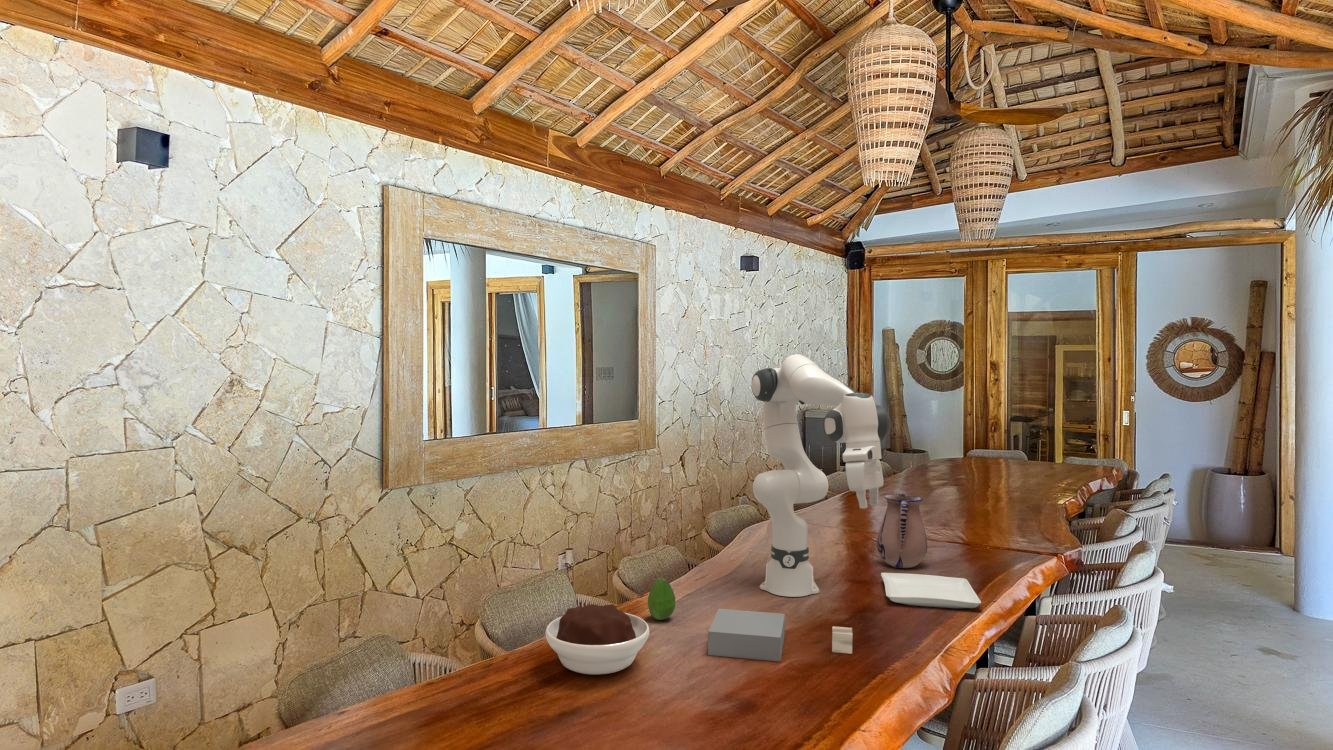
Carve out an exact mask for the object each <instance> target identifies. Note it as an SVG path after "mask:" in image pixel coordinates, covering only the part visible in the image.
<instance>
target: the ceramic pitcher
mask: <svg viewBox="0 0 1333 750" xmlns="http://www.w3.org/2000/svg"><path fill="white" fill-rule="evenodd" d="M884 498H885V499H886V502H887V503H886V504H887V506H886V511H885V513H884V516H883V519H882V521H881V525H880V527H879V530H878V533H877V536H876V549H877V552H878V553H879V555H880V558H881V559H882V561H883V562H884V563H886V564H887V565H888V566H891V567H893V568H897V569H898V568H899V569H911V568H914V567H916V566H918V565H920V563H922V561H923V560H924V559H925V557H926V555H927V552H928V537H927V534H926V529H925V525H924V523H923V522H924V521H923V518H922V514H921V511H920V505H921V502H922V501H923V500H924V499H923V498H922V497H920V496H916V495H907V494H905V493H898V494H885V495H884Z"/></svg>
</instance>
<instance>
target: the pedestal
mask: <svg viewBox="0 0 1333 750" xmlns="http://www.w3.org/2000/svg"><path fill="white" fill-rule="evenodd" d="M785 628H786V613H778V612H777V613H776V612H765V611H764V612H763V611H752V610H739V609H730V608H729V609H726V608H718V609H717V611H716V614H715V616H714V618H713V620H712V622H711V625H710V626H709V629H708V632H707V633H708V634H707V637H708V639H707V641H708V642H707V649H708V650H707V655H708V656H716V657H726V658H727V657H728V658H737V659H738V658H739V659H750V660H760V661H769V662H771V661H772V662H781V660H782V659H781V658H782V655H783V647H784V642H785V637H786V635H785V634H786V633H785V631H786V629H785Z"/></svg>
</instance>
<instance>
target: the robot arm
mask: <svg viewBox="0 0 1333 750" xmlns="http://www.w3.org/2000/svg"><path fill="white" fill-rule="evenodd" d="M751 391H752V395H753V396H754V397H755V399H756V400H757V401H760V402H763V405H762V407H763V409H762V411H763V412H762V417H763V418H762V420H763V428H764V434H765V442H766V447H767V452H768V454H769V455H770V456H771V457H772V458H774V459H775V460H778V461H779V462H780V463H781V464H782V466H783V467H784V469H771V470H768V471H764V472H761V473H758V474H757V475H756V476H755V478H754V480H753V483H752V492H753V496H754V497H755V499H756V500H757V501H758V503H760V504H761V505H763V507H764V508H765V509H766V511H767V512H768V515H769V517H770V520H771V525H772V526H771V527H772V545H771V547H770V557H771V558H770V560H769V561H768V562H767V563H766V564H765V565H766V566H765V580H764V581H763V582H761V584H759V589H760V590H763V591H766V592H768V593H771V594H773V595H776V596H780V597H781V596H782V597H790V598H792V597H793V598H797V597H806V596H808V595H809V596H810V595H813V594H819V593H820V589H819V587H818V585H817V583H816V582H815V580H814V579H815V577H814V566H812V563H811V562H810V561H809V558H810V549H809V547H808V540H809V539H808V538H809V533H808V531H809V530H808V529H809V526H808V523H807V522H806V520H805V519H804V518H803V517H802V516H800V515H799V514H796V513H795V511H794V510H795V509H794V504H795V505H796V504H808V503H813V502H817V501H820V500H823V499H824V498H825V497H826V496H827V494H828V491H829V481H828V477H827V475H826V474H825V473H824V472H823V471H822V470H821V469H819V468H818V467H817V466H815V464H813V463H812V461H811V460H810V459H809V457H808V456H807V453H806V452H805V449H804V446H803V442H802V438H801V434H800V433H801V432H800V427H799V421H798V418H797V417H798V416H797V413H796V406H797V404H798V403H799V404H801V405H805V404H807V405H810V406H825V407H826V406H828V407H835V408H833V409H830V410H829V411H828V412H827V413H826V415H825V416H824V418H823V431H824V434H825V437H826V438H827V439H829V440H830V441H831V442H832V443H839V444H843V443H844V444H845V451H844V452H843V453H842V461H843V463H845V464H844V465H845V474H846V479H847V480H846V481H847V486H848V489H849V491H850V492H855V493H856V498H857V501H858V507H859V509H867V508H868V506H869V505H870V506H871V507H873V506H878V504H879V501H878V500H879V499H878V498H879V488H881V487H884V481H885V480H884V475H883V474H884V473H883V468H882V463H881V461H880V460H881V459H883V458H882V448H881V442H882V441H883V440H884V439H885V438H886V437H887V436H888V434H889V433H890V431H891V429H892V421H891V416H890V415H889V413H888V412H887V410H886V409H885V408H883V406H881V405H877V404H876V403H875V399H874V396H873V395H872V394H870V393H867V392H858V391H856V390H855V389H853V388H852V387H850V385H847V384H846V383H844V382H842V381H840V380H838V379H837V378H835V377H832V376H831V375H829V373H827V372H825V371H824V370H822V369H821V368H820V367H819V365H817V364H816V363H815V362H814V361H813V360H811V359H810V358H809V357H807V356H805V355H803V354H799V353H795V354H791V355H789V356H787V357H786V358H785V359H784V360H783V361H782V364H781V366H780V367H767V368H762V369H759V370H757V371H756V372H754V374H753V376H752V378H751ZM867 490H868V491H869V505H868V500H867V497H866V495H867Z"/></svg>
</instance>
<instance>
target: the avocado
mask: <svg viewBox="0 0 1333 750" xmlns="http://www.w3.org/2000/svg"><path fill="white" fill-rule="evenodd" d="M647 607H648V611H649V614H650V615H651V617H653V618H654V619H655V620H656V621H657V620H658V621H664V620H667V619H668V618H670V617H671V616H672V615H673V613H674V610H675V609H676V595H675V592H674V589H673V588H672V585H671V583H670V582H669V581H668V580H667V579H666V578H664V577H659V578H657V579H656V580H655V581H654V582H653V584H652V585H651V588H650V591H649V594H648V597H647Z"/></svg>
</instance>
